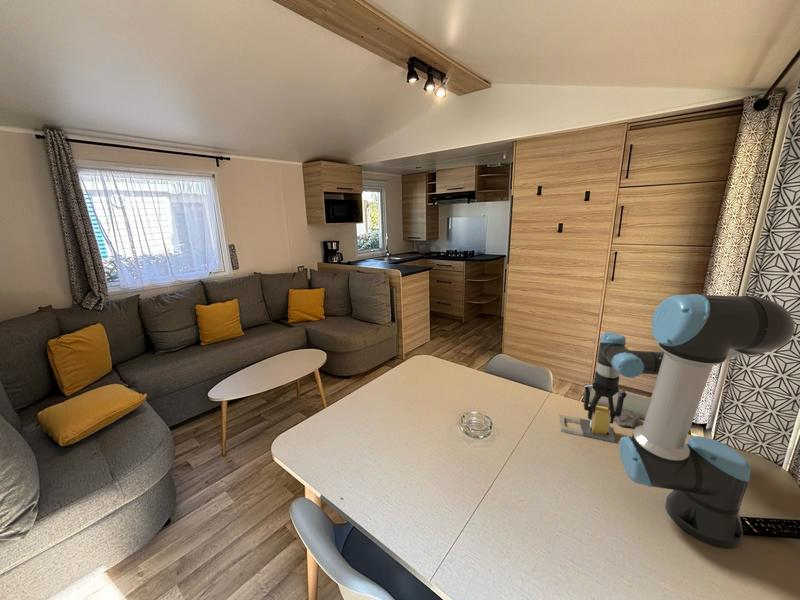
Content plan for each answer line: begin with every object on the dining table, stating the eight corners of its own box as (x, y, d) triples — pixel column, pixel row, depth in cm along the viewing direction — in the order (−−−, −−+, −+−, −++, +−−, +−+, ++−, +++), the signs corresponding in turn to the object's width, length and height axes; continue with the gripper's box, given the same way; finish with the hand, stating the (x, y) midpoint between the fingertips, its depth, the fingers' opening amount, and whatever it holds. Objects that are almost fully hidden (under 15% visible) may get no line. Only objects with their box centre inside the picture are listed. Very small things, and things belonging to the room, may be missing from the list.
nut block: (606, 436, 119) (610, 413, 117) (592, 433, 121) (596, 411, 118) (603, 429, 123) (607, 407, 121) (590, 426, 125) (594, 404, 123)
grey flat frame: (614, 442, 116) (615, 439, 116) (560, 431, 123) (561, 428, 122) (609, 426, 125) (609, 424, 125) (559, 416, 132) (559, 414, 131)
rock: (641, 421, 128) (642, 412, 127) (630, 431, 122) (632, 422, 121) (616, 411, 135) (618, 403, 134) (605, 420, 129) (606, 411, 128)
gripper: (632, 373, 116) (623, 427, 122) (579, 365, 123) (572, 417, 128) (639, 382, 109) (628, 439, 115) (581, 374, 116) (574, 428, 122)
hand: (598, 427), depth 122 cm, fingers closed on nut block, 4 cm apart
